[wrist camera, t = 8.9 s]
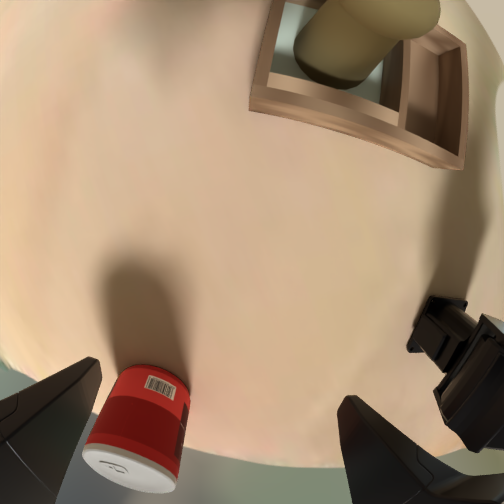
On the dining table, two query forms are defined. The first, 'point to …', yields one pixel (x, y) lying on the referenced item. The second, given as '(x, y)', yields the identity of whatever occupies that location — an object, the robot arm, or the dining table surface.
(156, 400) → the canned food
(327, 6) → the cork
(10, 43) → the dining table surface
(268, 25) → the socket box
